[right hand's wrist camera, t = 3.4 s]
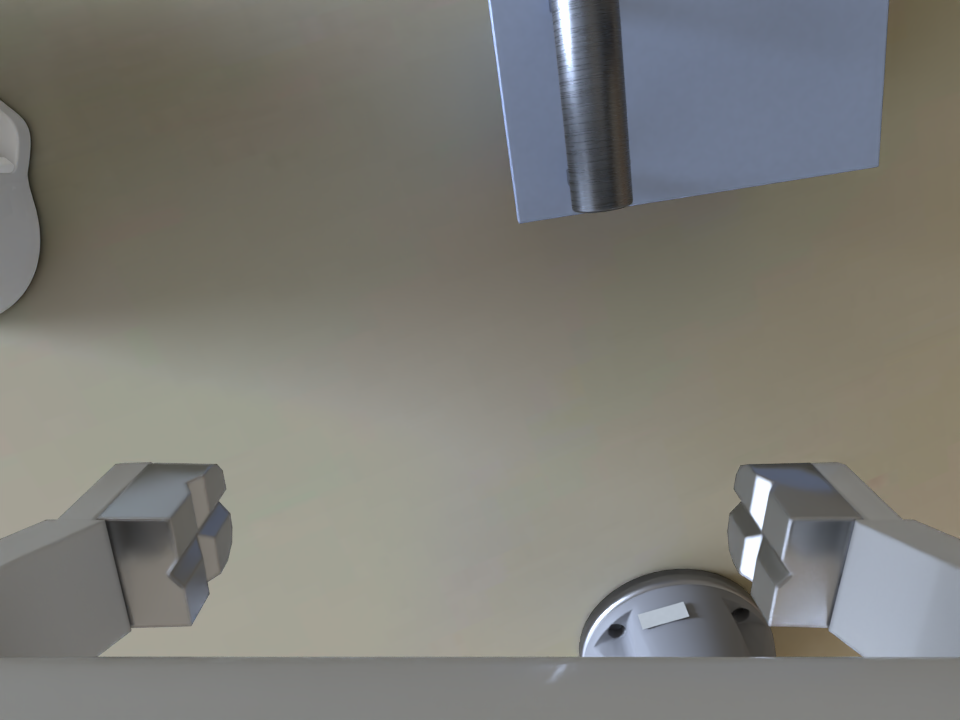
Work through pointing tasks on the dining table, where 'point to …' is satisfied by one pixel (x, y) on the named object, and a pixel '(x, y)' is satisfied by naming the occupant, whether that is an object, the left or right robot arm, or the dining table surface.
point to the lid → (683, 96)
